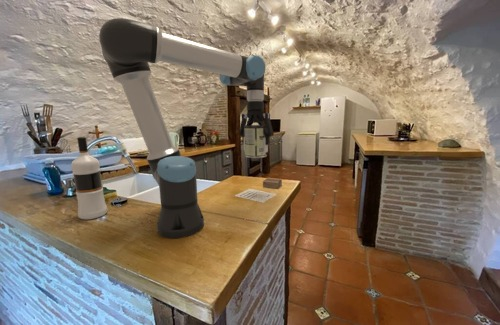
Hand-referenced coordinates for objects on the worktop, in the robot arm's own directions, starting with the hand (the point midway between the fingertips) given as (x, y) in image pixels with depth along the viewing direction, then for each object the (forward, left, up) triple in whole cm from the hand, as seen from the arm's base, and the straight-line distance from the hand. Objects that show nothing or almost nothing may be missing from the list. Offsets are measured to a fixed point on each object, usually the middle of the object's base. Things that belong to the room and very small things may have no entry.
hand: (255, 151), depth 100 cm
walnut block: (+17, 0, -22) cm, 27 cm away
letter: (0, 0, -21) cm, 21 cm away
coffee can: (0, 0, -3) cm, 3 cm away
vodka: (-53, +40, -22) cm, 70 cm away
